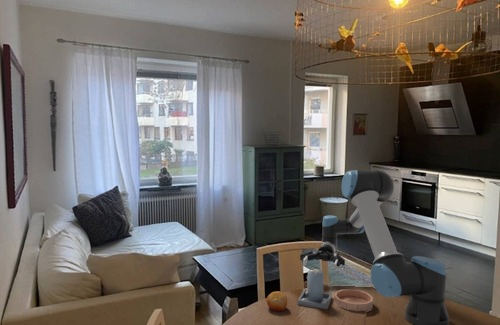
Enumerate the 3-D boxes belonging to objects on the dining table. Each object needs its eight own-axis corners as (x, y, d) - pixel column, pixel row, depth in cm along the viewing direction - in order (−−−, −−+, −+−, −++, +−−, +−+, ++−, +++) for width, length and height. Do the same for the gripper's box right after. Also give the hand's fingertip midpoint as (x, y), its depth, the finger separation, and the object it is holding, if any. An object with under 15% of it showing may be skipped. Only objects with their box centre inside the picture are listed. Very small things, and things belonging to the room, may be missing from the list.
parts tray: (331, 299, 162) (331, 293, 161) (327, 311, 150) (327, 304, 150) (303, 295, 166) (303, 289, 165) (297, 306, 154) (297, 299, 154)
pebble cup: (324, 299, 160) (324, 268, 159) (321, 305, 154) (322, 273, 153) (308, 297, 162) (309, 266, 161) (305, 302, 156) (306, 271, 155)
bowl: (373, 300, 161) (373, 292, 161) (371, 315, 147) (372, 306, 147) (336, 295, 166) (337, 287, 166) (332, 309, 152) (332, 300, 152)
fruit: (287, 300, 156) (287, 288, 152) (286, 318, 150) (287, 305, 145) (267, 299, 157) (267, 287, 153) (266, 316, 151) (266, 304, 146)
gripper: (352, 262, 183) (348, 277, 163) (301, 256, 192) (291, 269, 172) (353, 246, 183) (348, 260, 163) (301, 241, 191) (291, 253, 171)
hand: (319, 265), depth 167 cm, fingers open, 13 cm apart
